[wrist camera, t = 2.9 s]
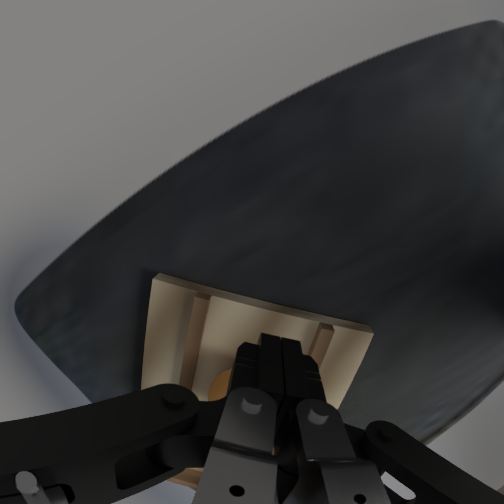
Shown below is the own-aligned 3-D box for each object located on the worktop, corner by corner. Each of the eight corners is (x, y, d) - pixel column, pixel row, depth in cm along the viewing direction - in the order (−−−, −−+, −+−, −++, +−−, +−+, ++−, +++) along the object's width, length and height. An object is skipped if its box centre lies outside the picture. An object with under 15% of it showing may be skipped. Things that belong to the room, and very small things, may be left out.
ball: (284, 362, 22) (286, 404, 18) (266, 408, 24) (264, 450, 19) (220, 347, 23) (208, 386, 18) (209, 394, 24) (197, 435, 19)
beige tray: (368, 325, 23) (381, 346, 20) (286, 481, 28) (286, 504, 25) (159, 272, 23) (142, 287, 20) (142, 448, 28) (133, 468, 25)
